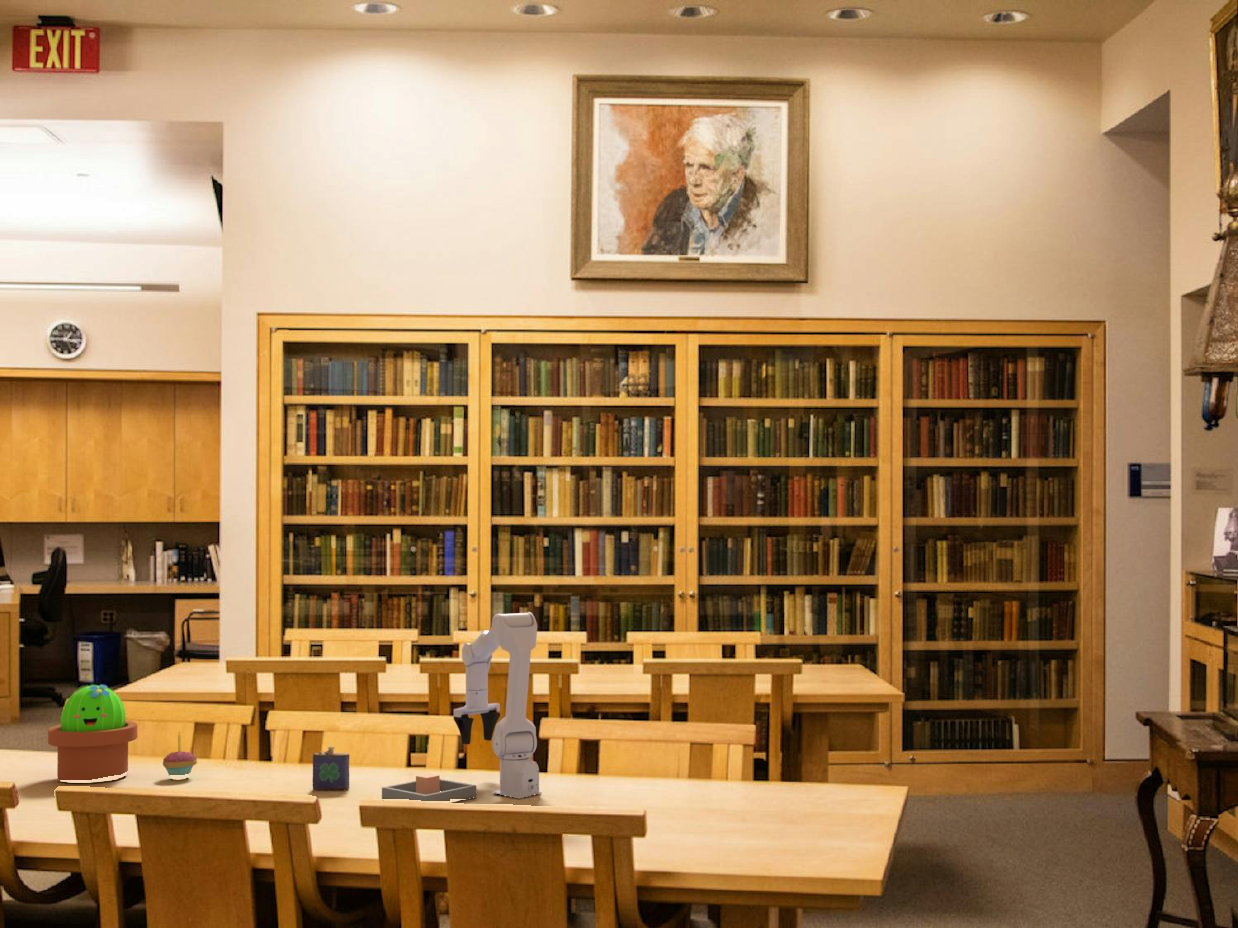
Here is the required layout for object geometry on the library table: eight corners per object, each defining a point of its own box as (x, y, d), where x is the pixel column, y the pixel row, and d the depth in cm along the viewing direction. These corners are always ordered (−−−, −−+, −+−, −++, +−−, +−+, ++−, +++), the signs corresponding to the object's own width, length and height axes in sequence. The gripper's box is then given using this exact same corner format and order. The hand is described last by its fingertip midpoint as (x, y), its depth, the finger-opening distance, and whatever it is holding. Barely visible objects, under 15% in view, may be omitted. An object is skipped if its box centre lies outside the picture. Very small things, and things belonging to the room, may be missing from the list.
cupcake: (161, 777, 362) (161, 731, 362) (194, 774, 365) (194, 729, 366) (164, 782, 354) (165, 736, 354) (199, 780, 358) (199, 733, 358)
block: (439, 796, 332) (439, 775, 332) (426, 798, 329) (426, 777, 329) (428, 794, 334) (428, 773, 334) (415, 796, 331) (415, 775, 331)
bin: (476, 797, 332) (476, 785, 332) (425, 808, 320) (425, 795, 320) (432, 789, 342) (432, 777, 342) (381, 799, 330) (381, 787, 330)
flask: (350, 788, 345) (350, 745, 345) (347, 790, 342) (347, 747, 342) (314, 788, 345) (313, 745, 345) (310, 791, 342) (310, 747, 342)
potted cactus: (53, 773, 369) (54, 679, 370) (140, 768, 375) (140, 676, 376) (42, 788, 348) (42, 689, 349) (133, 783, 354) (134, 685, 355)
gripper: (486, 685, 365) (486, 736, 365) (445, 690, 354) (445, 743, 354) (505, 687, 361) (505, 739, 360) (464, 692, 350) (464, 746, 349)
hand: (477, 741), depth 357 cm, fingers open, 7 cm apart
